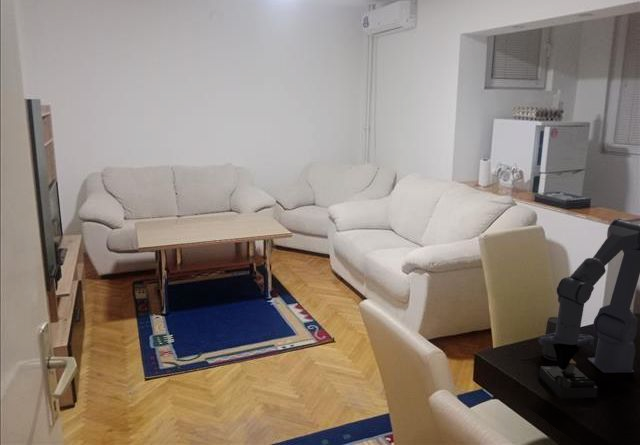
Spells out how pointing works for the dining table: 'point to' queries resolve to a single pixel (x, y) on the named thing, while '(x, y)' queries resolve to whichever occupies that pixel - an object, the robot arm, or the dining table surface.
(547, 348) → the energy drink
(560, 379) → the breaker box
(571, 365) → the breaker toggle
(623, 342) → the robot arm
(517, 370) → the dining table surface
